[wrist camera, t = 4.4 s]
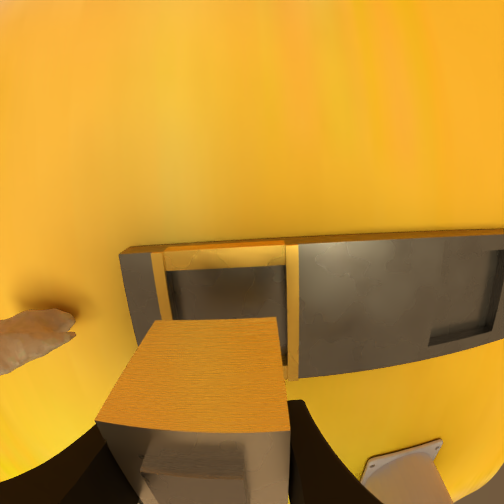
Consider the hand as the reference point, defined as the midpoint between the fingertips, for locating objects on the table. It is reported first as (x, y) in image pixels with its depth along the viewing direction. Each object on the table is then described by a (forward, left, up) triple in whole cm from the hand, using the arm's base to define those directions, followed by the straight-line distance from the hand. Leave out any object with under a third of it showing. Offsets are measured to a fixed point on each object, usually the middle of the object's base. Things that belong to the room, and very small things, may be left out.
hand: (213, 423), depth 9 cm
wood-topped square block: (0, 0, -3) cm, 3 cm away
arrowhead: (0, +12, -9) cm, 15 cm away
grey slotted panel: (0, -8, -9) cm, 12 cm away
